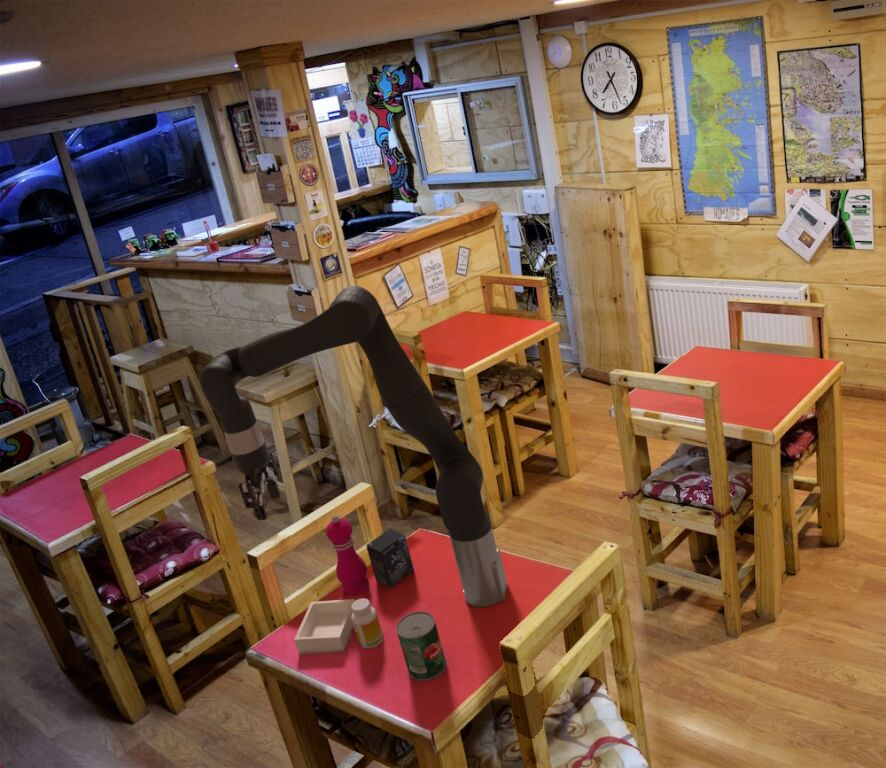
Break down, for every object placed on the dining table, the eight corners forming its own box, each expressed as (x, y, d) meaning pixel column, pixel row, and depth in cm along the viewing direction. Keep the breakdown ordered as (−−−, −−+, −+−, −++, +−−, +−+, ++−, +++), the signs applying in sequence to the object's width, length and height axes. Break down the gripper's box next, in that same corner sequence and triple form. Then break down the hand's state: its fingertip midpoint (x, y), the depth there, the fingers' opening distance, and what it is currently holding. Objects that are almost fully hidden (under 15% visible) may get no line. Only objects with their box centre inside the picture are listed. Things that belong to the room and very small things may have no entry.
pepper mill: (373, 575, 211) (352, 504, 203) (368, 594, 205) (346, 522, 197) (344, 579, 212) (322, 509, 204) (338, 598, 206) (316, 526, 198)
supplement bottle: (388, 633, 191) (377, 597, 187) (376, 650, 186) (365, 613, 182) (366, 630, 193) (355, 594, 189) (354, 647, 189) (343, 611, 185)
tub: (358, 613, 199) (354, 599, 197) (344, 651, 188) (339, 637, 186) (315, 615, 202) (311, 601, 200) (299, 654, 190) (294, 639, 189)
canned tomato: (407, 658, 182) (395, 616, 178) (444, 649, 182) (433, 607, 178) (409, 685, 175) (396, 641, 170) (448, 676, 175) (436, 632, 170)
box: (391, 589, 205) (380, 551, 201) (375, 581, 209) (364, 544, 205) (415, 570, 209) (405, 533, 205) (399, 563, 213) (389, 527, 209)
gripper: (250, 459, 180) (274, 525, 187) (274, 426, 193) (295, 489, 199) (217, 463, 182) (242, 528, 188) (243, 430, 195) (265, 492, 201)
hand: (269, 508), depth 194 cm, fingers open, 8 cm apart
